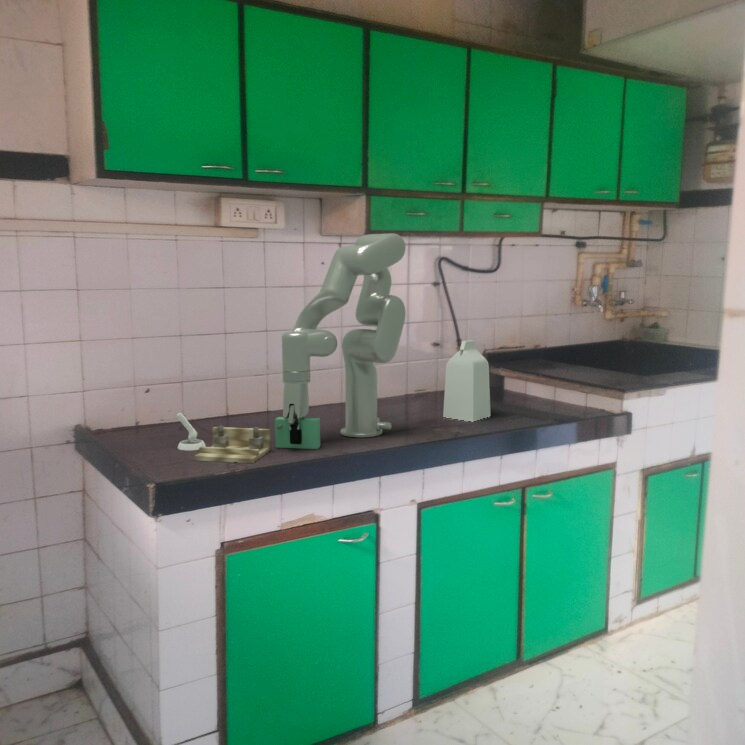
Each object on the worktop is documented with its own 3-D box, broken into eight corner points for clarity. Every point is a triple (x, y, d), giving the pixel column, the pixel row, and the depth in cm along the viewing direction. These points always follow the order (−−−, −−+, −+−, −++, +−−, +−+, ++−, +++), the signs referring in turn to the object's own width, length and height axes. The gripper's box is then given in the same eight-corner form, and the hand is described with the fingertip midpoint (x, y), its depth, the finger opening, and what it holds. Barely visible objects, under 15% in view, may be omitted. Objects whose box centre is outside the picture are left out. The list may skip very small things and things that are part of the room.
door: (320, 446, 202) (319, 418, 201) (316, 449, 198) (316, 421, 197) (279, 444, 204) (278, 416, 203) (274, 448, 200) (273, 419, 199)
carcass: (270, 450, 197) (270, 425, 196) (253, 463, 184) (252, 436, 183) (215, 448, 200) (214, 423, 199) (193, 460, 186) (193, 433, 186)
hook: (159, 427, 202) (179, 412, 205) (186, 460, 204) (206, 444, 206) (161, 427, 195) (182, 410, 198) (189, 461, 197) (209, 444, 200)
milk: (473, 422, 237) (474, 343, 233) (443, 418, 243) (444, 341, 240) (490, 416, 246) (492, 340, 243) (461, 412, 253) (462, 338, 250)
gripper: (292, 372, 207) (293, 435, 210) (273, 380, 191) (275, 448, 194) (317, 372, 206) (318, 436, 208) (301, 381, 190) (302, 449, 192)
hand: (297, 441), depth 201 cm, fingers closed on door, 3 cm apart
